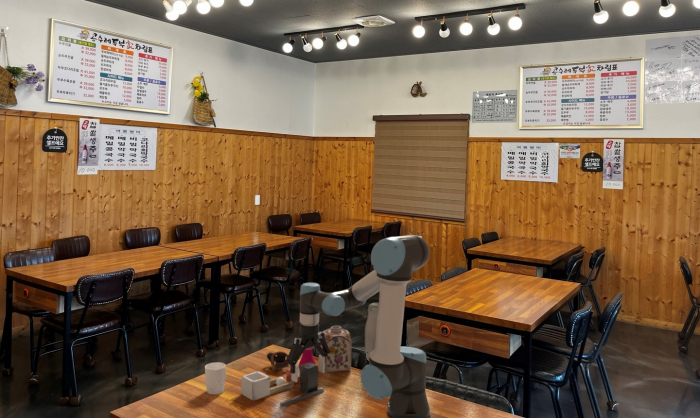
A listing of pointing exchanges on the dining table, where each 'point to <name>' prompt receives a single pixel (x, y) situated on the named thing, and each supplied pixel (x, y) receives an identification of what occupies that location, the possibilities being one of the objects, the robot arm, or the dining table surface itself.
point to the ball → (280, 381)
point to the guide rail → (301, 397)
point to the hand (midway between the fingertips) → (308, 376)
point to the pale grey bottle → (371, 329)
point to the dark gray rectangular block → (306, 377)
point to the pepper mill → (307, 356)
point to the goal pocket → (255, 385)
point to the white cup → (215, 377)
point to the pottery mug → (277, 360)
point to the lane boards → (280, 386)
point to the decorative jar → (338, 349)
